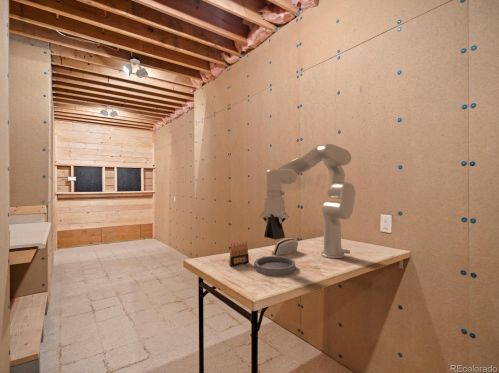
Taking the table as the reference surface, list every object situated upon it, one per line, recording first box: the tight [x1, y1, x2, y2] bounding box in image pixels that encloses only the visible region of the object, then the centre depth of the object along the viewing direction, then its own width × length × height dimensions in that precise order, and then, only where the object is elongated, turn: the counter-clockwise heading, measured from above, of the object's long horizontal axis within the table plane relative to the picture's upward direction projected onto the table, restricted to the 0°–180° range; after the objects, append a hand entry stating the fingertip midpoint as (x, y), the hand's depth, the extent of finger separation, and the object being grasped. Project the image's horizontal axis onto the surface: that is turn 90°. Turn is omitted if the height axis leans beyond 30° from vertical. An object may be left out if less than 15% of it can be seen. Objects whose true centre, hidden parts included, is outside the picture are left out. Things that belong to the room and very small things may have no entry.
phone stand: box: [263, 214, 286, 241], centre depth 127 cm, size 9×6×12 cm, turn 37°
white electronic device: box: [271, 237, 299, 256], centre depth 153 cm, size 17×5×10 cm, turn 126°
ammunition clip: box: [228, 240, 250, 268], centre depth 133 cm, size 11×2×12 cm, turn 119°
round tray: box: [253, 255, 296, 277], centre depth 127 cm, size 20×20×3 cm
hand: (274, 230), depth 127 cm, fingers closed on phone stand, 4 cm apart
